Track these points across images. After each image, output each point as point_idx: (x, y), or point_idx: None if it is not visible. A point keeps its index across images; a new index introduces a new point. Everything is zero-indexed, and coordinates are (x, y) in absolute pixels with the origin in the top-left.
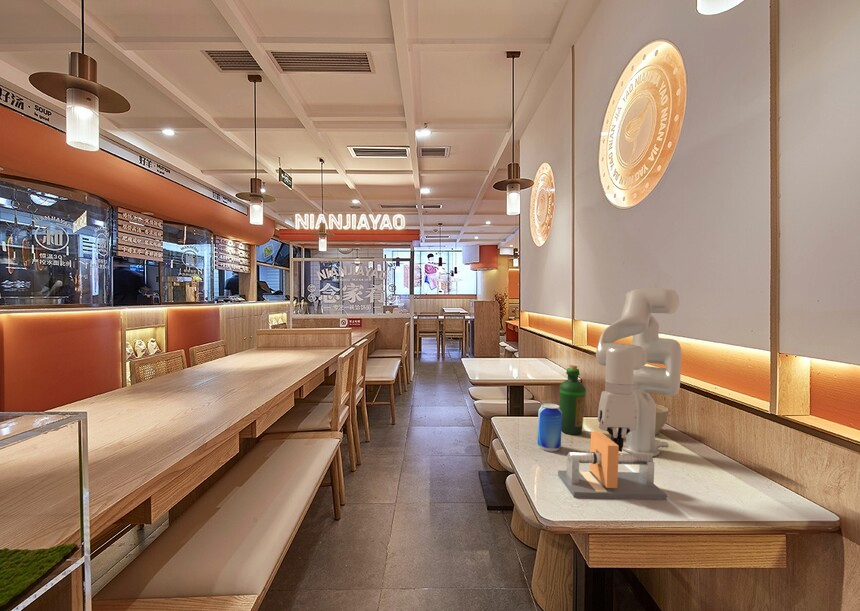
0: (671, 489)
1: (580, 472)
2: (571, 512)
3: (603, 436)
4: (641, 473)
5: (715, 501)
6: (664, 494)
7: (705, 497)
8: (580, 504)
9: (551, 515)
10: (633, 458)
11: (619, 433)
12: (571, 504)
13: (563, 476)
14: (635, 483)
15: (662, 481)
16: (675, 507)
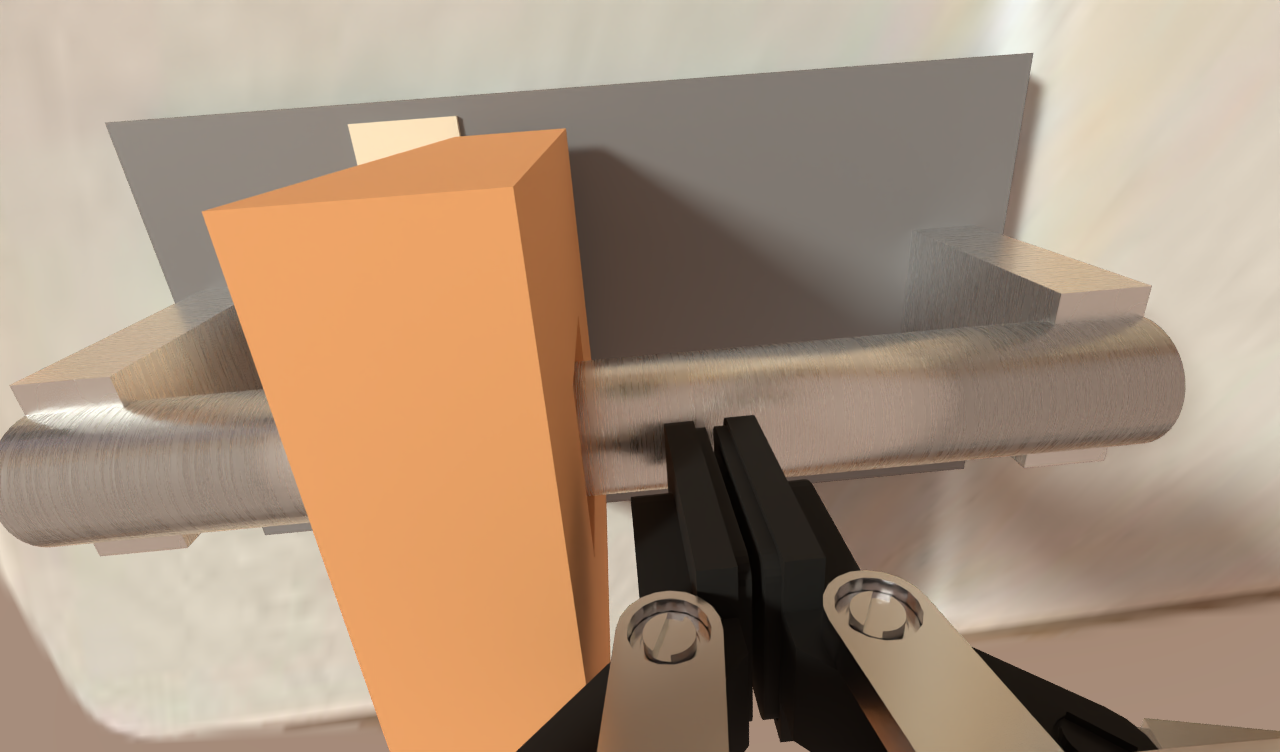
0: None
1: (357, 158)
2: (257, 667)
3: (485, 557)
4: (944, 291)
5: (1271, 419)
6: (947, 469)
7: (1258, 373)
8: (322, 583)
9: (139, 708)
10: (889, 467)
11: (834, 720)
12: (261, 592)
13: (172, 275)
14: (828, 322)
15: (1156, 126)
16: (931, 528)
